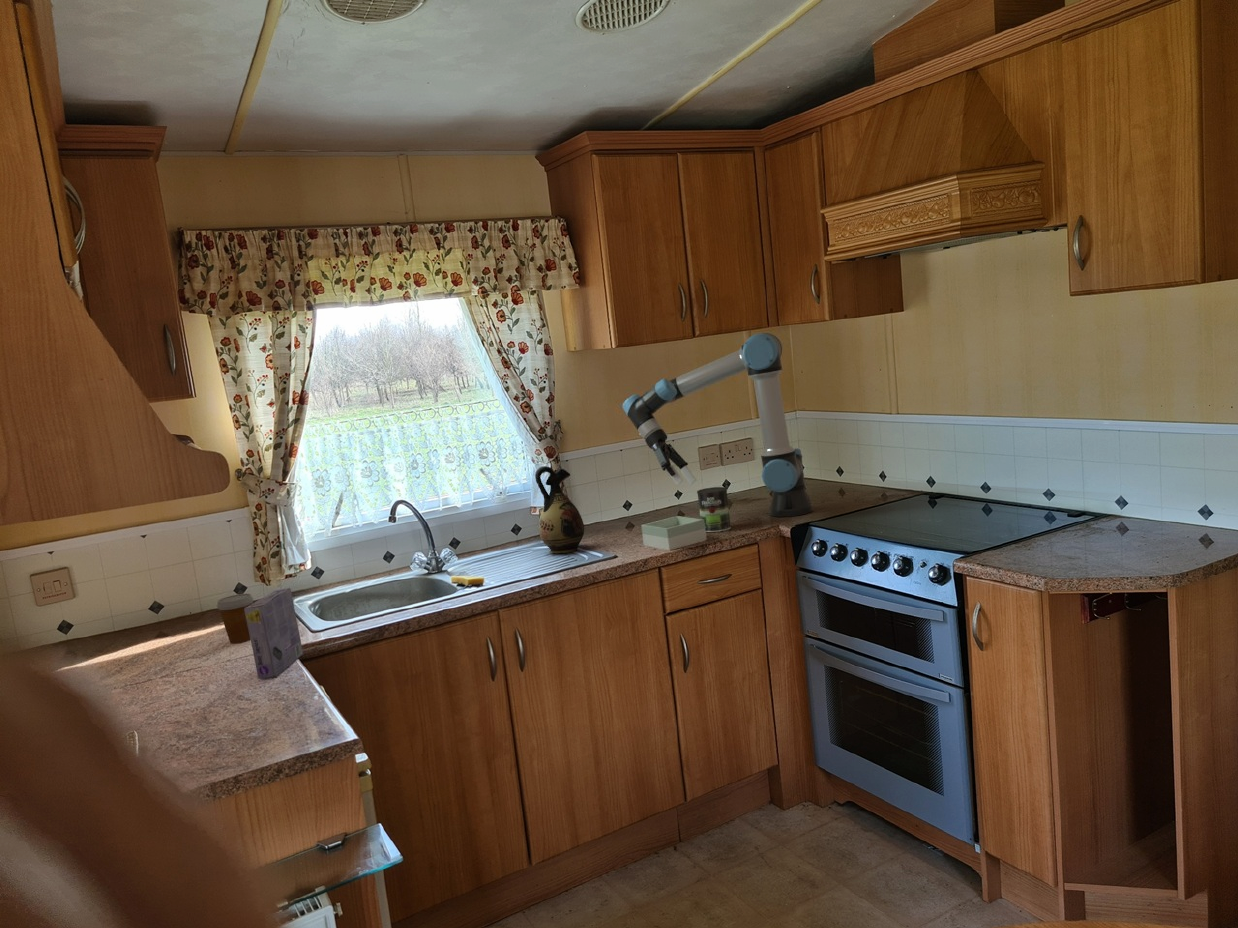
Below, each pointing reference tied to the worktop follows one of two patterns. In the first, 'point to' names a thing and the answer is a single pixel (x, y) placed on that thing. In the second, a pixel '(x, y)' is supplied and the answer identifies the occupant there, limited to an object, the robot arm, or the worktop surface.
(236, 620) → the disposable coffee cup
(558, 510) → the ceramic jug
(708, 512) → the coffee can
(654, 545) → the open rectangular storage box
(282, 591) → the cake pan box
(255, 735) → the worktop surface
